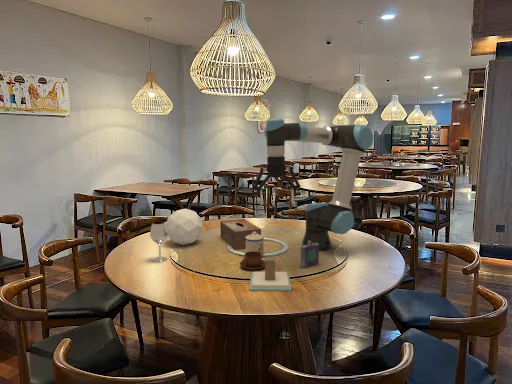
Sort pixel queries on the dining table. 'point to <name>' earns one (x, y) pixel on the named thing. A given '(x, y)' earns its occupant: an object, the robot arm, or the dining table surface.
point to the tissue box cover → (237, 232)
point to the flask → (309, 255)
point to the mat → (269, 288)
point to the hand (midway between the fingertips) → (277, 204)
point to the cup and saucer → (252, 261)
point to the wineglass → (159, 237)
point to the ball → (184, 226)
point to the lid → (270, 276)
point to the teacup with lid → (254, 243)
